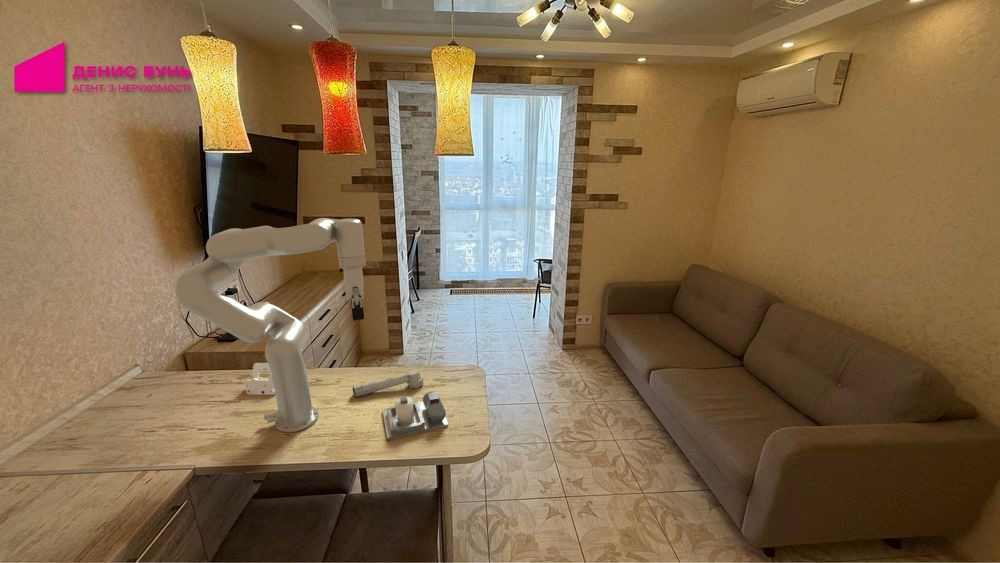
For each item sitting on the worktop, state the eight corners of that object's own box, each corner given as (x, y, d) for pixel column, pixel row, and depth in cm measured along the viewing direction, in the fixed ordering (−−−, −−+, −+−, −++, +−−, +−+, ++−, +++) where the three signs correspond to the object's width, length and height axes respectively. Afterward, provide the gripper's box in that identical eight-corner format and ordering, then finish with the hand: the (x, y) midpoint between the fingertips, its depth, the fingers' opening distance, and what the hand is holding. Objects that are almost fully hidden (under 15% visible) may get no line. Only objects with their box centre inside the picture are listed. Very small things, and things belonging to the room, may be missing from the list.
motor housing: (387, 440, 120) (385, 418, 117) (382, 412, 133) (380, 391, 130) (447, 426, 126) (447, 404, 124) (437, 400, 140) (436, 380, 137)
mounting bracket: (284, 392, 147) (286, 363, 148) (274, 395, 141) (277, 364, 142) (252, 392, 147) (254, 363, 148) (241, 395, 141) (244, 364, 142)
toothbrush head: (352, 383, 143) (419, 364, 150) (356, 398, 145) (423, 379, 152) (352, 391, 138) (421, 371, 145) (356, 406, 141) (425, 386, 147)
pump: (397, 427, 124) (395, 405, 121) (395, 417, 129) (393, 395, 126) (415, 423, 126) (414, 401, 123) (412, 413, 131) (411, 392, 128)
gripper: (338, 255, 123) (344, 305, 128) (338, 269, 108) (345, 326, 113) (363, 253, 125) (368, 303, 131) (367, 266, 110) (372, 322, 115)
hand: (357, 313), depth 122 cm, fingers open, 9 cm apart
